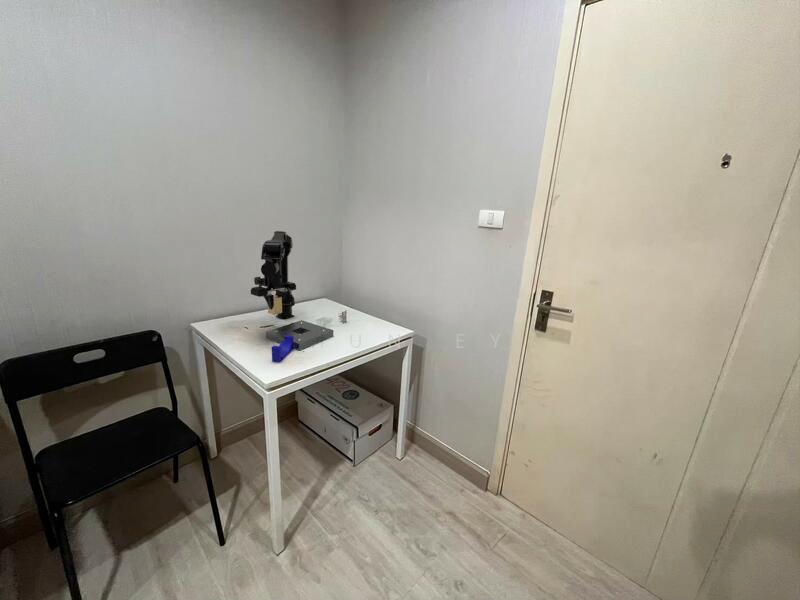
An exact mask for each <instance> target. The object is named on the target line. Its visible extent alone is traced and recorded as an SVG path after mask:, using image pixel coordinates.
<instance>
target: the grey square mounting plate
mask: <svg viewBox="0 0 800 600" xmlns="http://www.w3.org/2000/svg"><path fill="white" fill-rule="evenodd" d="M286 335H290V336H293V342H294V350H297V351H303V350H304V349H306V348H309V347H311V346H314V345H316V344H319V343H321V342H323V341H326V340H328V339H330V338H333V337H334V329H331V328H328V327H325V326H321V325H319V324H314V323H312V322H308V321H306V320H303V319H301V320H298V321H295V322H291V323H288V324H285V325H282V326H278V327H276V328H272V329H269V330H267V331H265V339H267V340H269V341H273V342H274V343H277V344H279V345H280V344H281V343H282V342H284V336H286Z"/></svg>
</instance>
